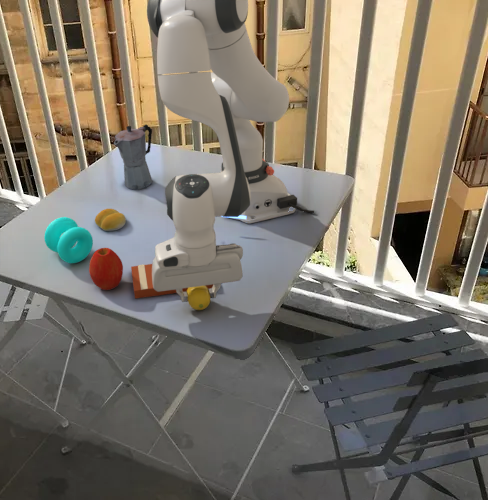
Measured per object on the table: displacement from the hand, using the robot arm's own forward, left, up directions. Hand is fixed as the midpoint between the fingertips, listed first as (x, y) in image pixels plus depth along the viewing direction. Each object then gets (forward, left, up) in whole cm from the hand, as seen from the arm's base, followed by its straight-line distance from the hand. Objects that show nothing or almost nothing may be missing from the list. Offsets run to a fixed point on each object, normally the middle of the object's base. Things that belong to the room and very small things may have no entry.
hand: (198, 298), depth 129 cm
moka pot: (+9, -65, -2) cm, 66 cm away
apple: (+20, -12, -2) cm, 24 cm away
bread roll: (+19, -41, -2) cm, 46 cm away
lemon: (0, 0, -2) cm, 2 cm away
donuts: (+30, -27, -2) cm, 41 cm away
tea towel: (+5, -10, -2) cm, 12 cm away
